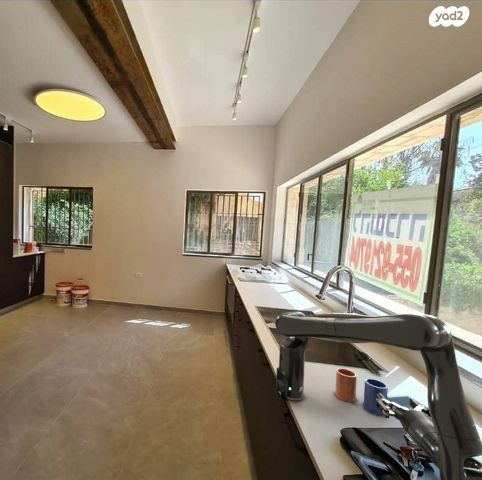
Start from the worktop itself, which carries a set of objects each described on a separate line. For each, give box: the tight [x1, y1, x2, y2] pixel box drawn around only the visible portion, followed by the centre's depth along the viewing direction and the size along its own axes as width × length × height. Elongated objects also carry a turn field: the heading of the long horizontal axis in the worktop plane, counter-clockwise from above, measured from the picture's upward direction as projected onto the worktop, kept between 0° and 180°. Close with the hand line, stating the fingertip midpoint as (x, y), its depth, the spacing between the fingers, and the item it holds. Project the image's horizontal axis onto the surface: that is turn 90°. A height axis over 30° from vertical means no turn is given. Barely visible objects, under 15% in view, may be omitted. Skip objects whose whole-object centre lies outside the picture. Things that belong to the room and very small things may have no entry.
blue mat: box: [387, 396, 428, 411], centre depth 101 cm, size 13×13×1 cm
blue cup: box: [363, 377, 389, 416], centre depth 100 cm, size 7×7×10 cm
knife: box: [354, 350, 381, 375], centre depth 136 cm, size 25×6×1 cm, turn 154°
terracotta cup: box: [334, 367, 358, 403], centre depth 107 cm, size 7×7×10 cm
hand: (394, 398), depth 88 cm, fingers open, 8 cm apart
